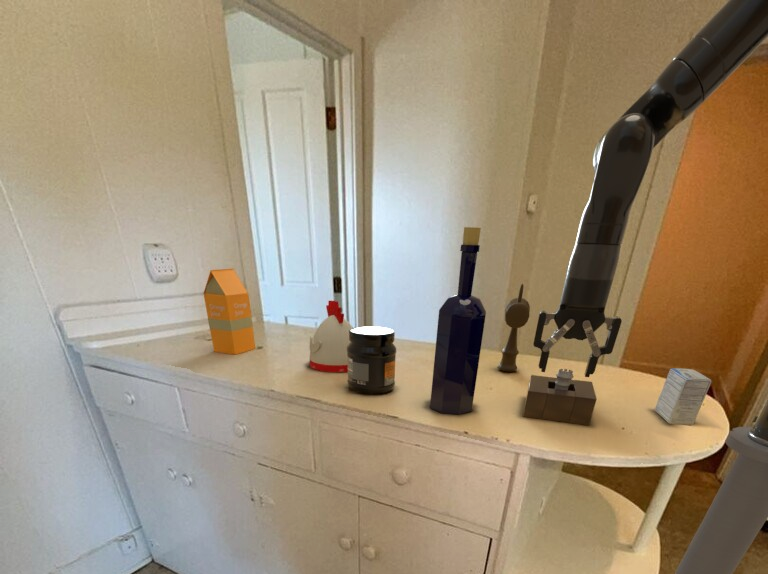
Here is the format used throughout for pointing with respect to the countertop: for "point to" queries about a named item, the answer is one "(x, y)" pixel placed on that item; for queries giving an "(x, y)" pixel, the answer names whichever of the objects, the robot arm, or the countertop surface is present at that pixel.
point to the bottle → (459, 338)
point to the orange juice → (228, 312)
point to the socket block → (560, 400)
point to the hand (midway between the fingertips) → (564, 373)
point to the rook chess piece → (563, 379)
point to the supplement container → (371, 360)
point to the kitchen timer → (331, 342)
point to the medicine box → (682, 396)
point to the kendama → (514, 330)
